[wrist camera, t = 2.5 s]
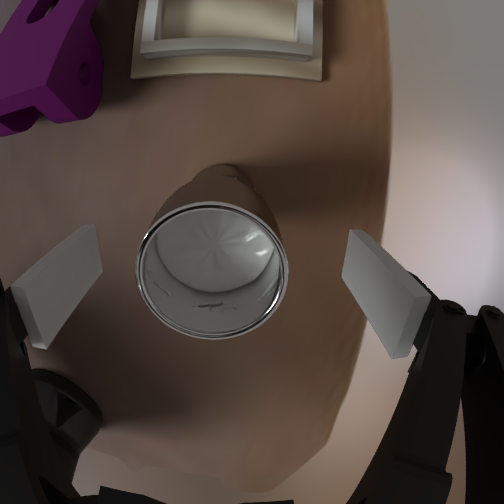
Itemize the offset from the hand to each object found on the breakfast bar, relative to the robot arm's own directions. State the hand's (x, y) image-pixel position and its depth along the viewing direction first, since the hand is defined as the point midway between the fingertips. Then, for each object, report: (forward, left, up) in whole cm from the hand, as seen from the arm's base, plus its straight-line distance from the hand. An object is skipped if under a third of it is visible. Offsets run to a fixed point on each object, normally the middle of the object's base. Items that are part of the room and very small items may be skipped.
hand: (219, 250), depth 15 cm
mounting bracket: (+17, +16, -13) cm, 27 cm away
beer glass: (0, 0, -13) cm, 13 cm away
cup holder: (+19, 0, -12) cm, 22 cm away
